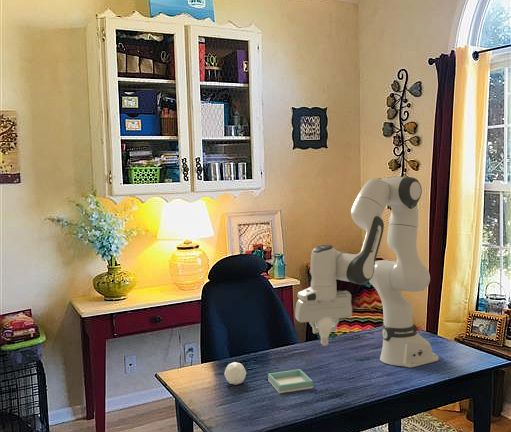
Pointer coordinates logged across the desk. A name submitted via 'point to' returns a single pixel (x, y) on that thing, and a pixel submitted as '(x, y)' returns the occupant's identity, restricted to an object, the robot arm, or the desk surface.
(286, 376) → the dish
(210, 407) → the desk surface
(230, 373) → the geometric ball
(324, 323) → the lightbulb
